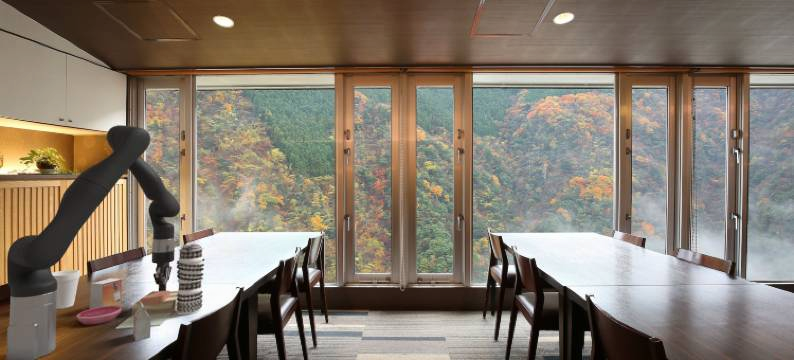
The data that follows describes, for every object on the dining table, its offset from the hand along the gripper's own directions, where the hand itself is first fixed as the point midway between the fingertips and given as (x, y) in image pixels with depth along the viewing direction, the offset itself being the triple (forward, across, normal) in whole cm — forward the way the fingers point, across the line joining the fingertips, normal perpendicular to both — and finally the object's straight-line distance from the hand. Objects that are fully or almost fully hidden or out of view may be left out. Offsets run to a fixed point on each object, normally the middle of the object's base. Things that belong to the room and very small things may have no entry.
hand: (162, 293), depth 141 cm
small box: (+5, +2, +20) cm, 21 cm away
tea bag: (+5, -30, -4) cm, 31 cm away
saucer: (+5, -11, +16) cm, 20 cm away
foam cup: (+5, +8, +37) cm, 38 cm away
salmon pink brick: (+1, -6, 0) cm, 6 cm away
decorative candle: (+5, -8, -12) cm, 15 cm away
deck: (+5, -2, 0) cm, 5 cm away
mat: (+5, -16, 0) cm, 17 cm away
